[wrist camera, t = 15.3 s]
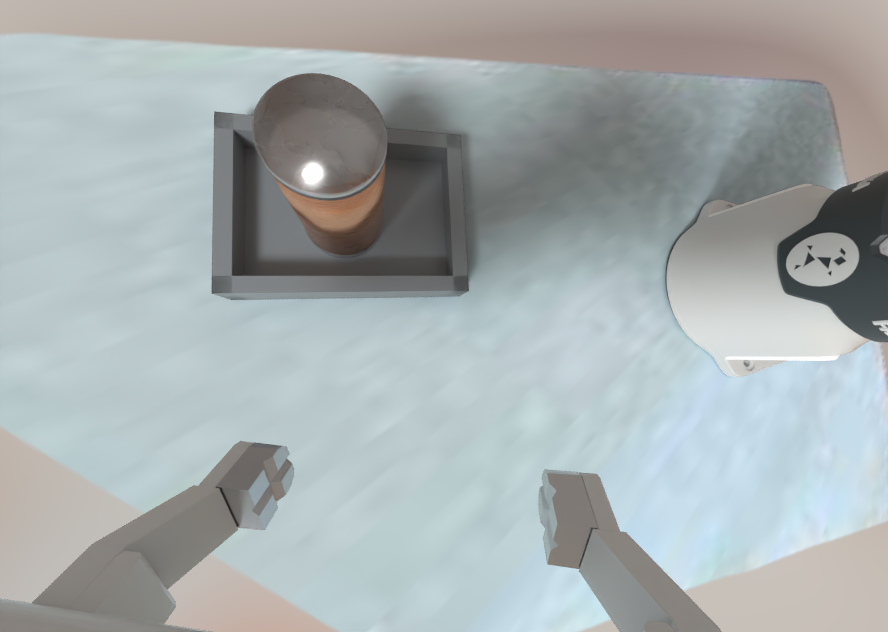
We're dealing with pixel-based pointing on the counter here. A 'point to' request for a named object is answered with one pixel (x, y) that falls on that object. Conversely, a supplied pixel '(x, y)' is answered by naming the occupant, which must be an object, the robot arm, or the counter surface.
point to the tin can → (326, 158)
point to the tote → (313, 271)
